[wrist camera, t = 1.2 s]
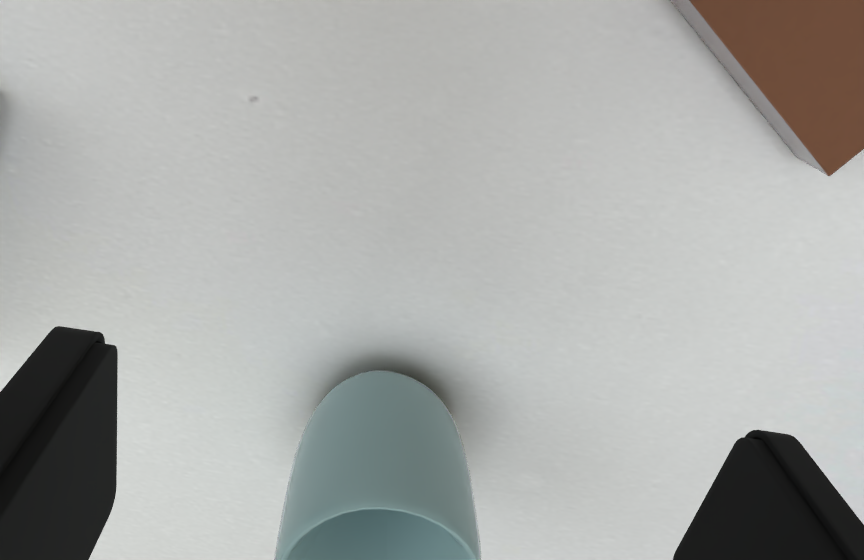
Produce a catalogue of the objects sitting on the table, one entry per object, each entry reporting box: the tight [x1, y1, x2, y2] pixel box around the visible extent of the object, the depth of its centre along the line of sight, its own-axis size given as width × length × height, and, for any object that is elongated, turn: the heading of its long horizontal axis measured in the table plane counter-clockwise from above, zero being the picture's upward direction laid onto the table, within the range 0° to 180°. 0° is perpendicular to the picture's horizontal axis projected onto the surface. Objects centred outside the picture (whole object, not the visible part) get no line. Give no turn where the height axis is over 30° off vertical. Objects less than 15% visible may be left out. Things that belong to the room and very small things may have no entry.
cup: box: [274, 370, 481, 560], centre depth 30 cm, size 8×8×10 cm
